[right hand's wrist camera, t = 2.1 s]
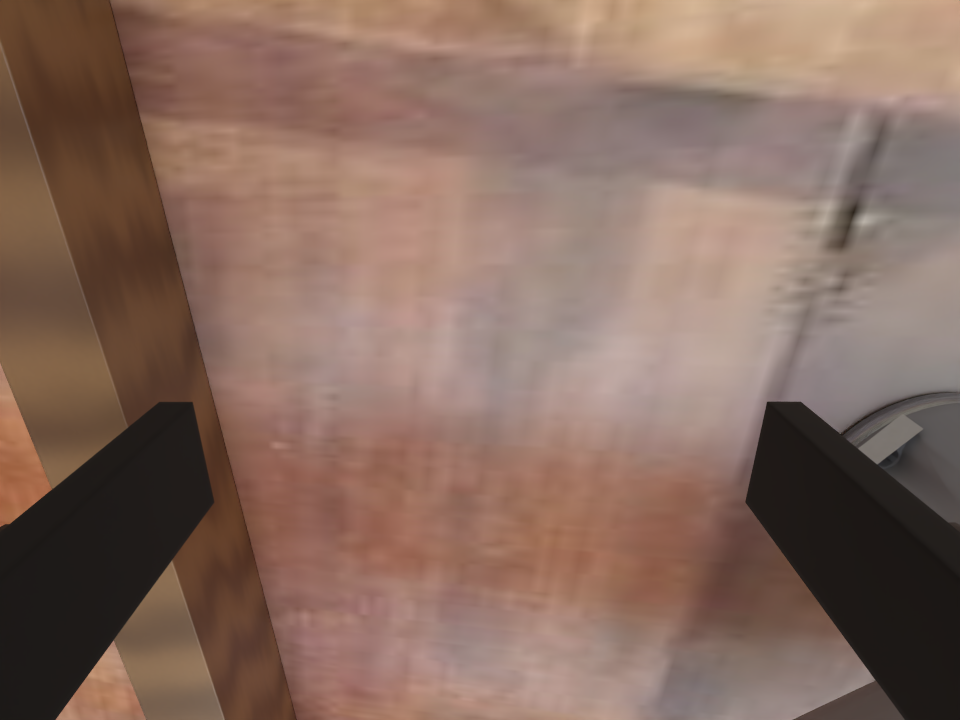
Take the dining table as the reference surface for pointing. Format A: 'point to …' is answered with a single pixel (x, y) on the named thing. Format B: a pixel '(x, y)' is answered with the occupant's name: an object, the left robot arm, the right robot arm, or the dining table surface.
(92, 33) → the beam
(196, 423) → the right robot arm
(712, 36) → the dining table surface
